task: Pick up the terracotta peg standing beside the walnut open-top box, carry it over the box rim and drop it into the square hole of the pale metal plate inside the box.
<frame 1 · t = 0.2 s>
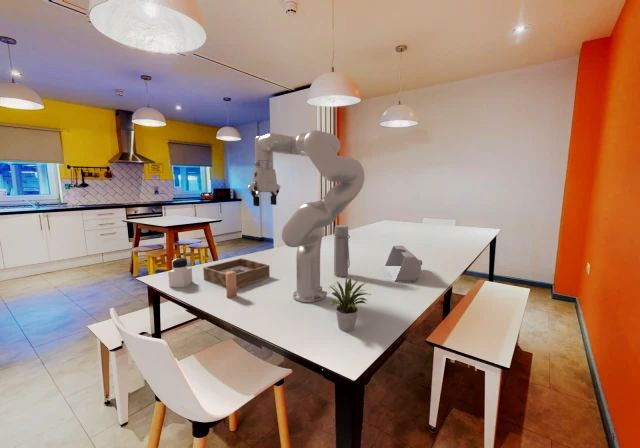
hand: (265, 205, 124), 36 cm above the table, tool pointing down, fingers open, 9 cm apart
open box: (237, 278, 138), on the table
water bottle: (342, 275, 142), on the table
peg: (231, 296, 116), on the table
house plant: (344, 329, 89), on the table
medicine bottle: (181, 284, 129), on the table
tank: (404, 274, 145), on the table
bore plate: (237, 273, 137), in the open box, point 2 cm above the table
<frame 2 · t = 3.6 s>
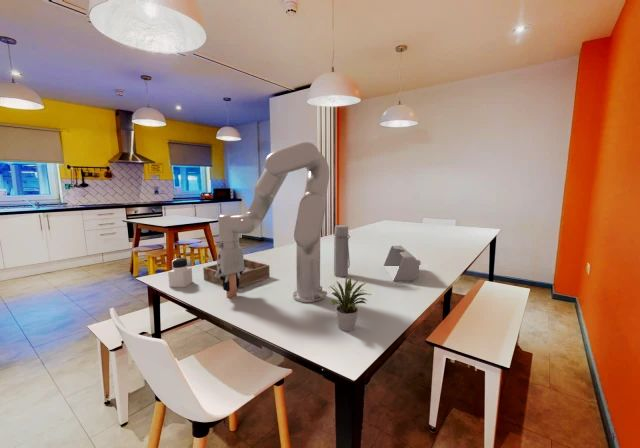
hand: (231, 288, 115), 3 cm above the table, tool pointing down, fingers closed on peg, 4 cm apart
peg: (231, 296, 116), on the table, touching gripper
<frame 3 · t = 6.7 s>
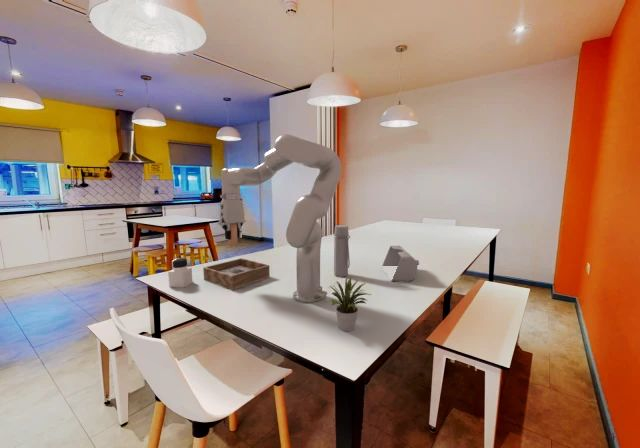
hand: (232, 238, 126), 22 cm above the table, tool pointing down, fingers closed on peg, 4 cm apart
peg: (232, 245, 126), point 18 cm above the table, touching gripper
when the fingers open (5 cm above the table, at t = 10.0 s): peg stays where it is, resting on open box.
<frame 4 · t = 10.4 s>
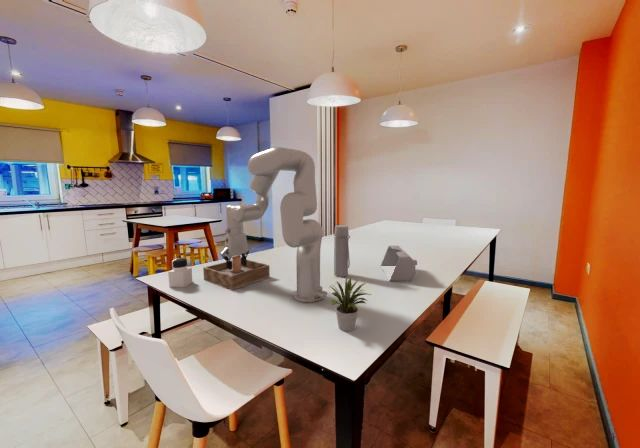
hand: (236, 266, 137), 6 cm above the table, tool pointing down, fingers open, 7 cm apart
peg: (237, 276, 138), point 1 cm above the table, touching open box
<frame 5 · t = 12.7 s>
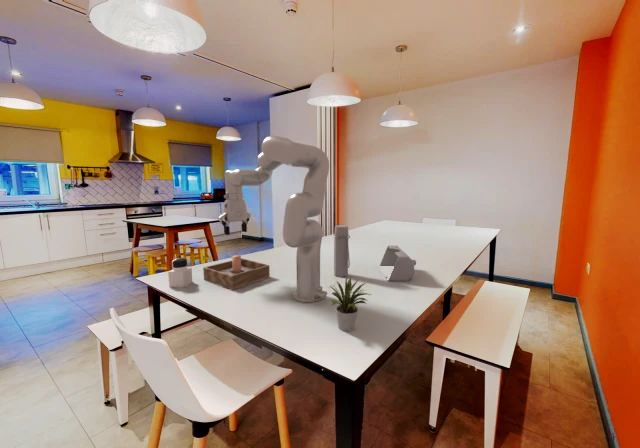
hand: (235, 233, 135), 22 cm above the table, tool pointing down, fingers open, 9 cm apart
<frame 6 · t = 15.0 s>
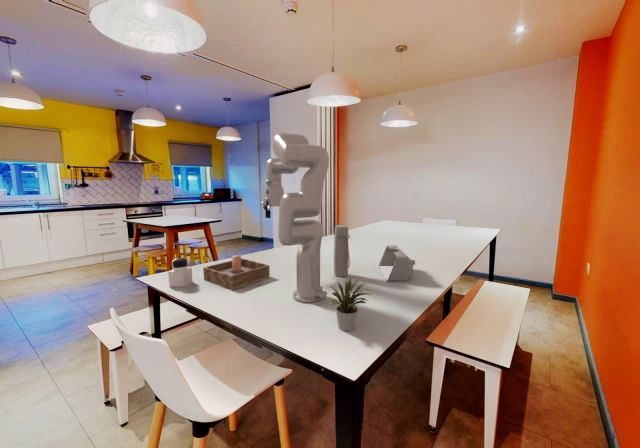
hand: (275, 217, 149), 28 cm above the table, tool pointing down, fingers open, 9 cm apart
at the end: peg 0.0 cm off-centre on the open box, point 1.0 cm above the open box's base; peg tilted 0°; the gripper is holding nothing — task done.
